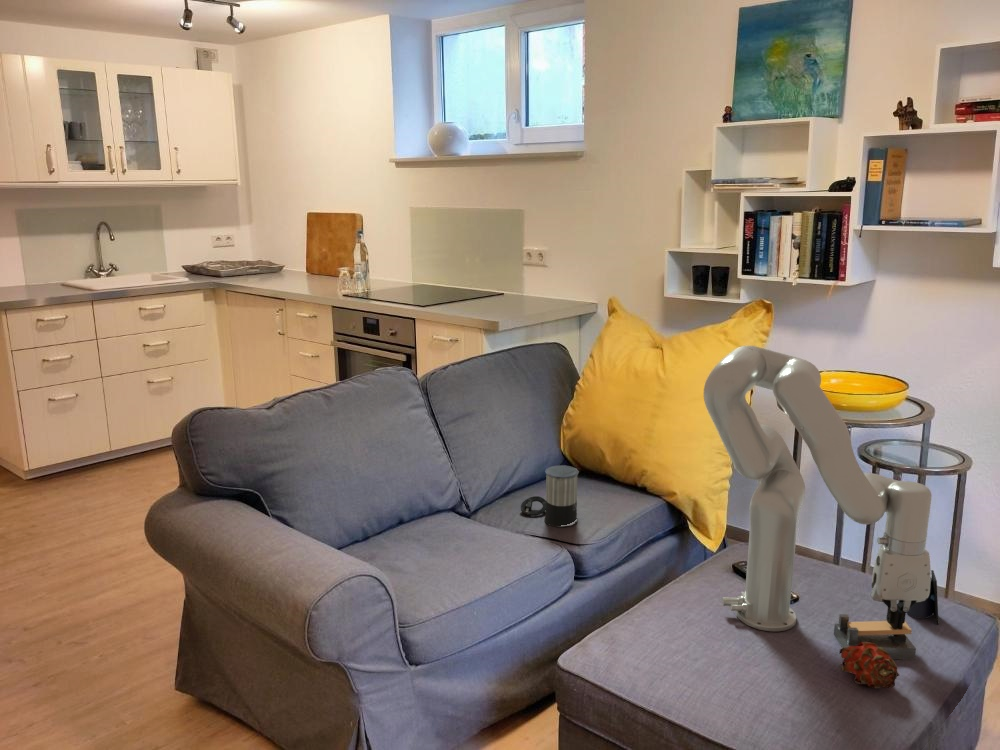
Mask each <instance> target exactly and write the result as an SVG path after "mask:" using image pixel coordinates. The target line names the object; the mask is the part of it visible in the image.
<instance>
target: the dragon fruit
mask: <svg viewBox="0 0 1000 750" xmlns="http://www.w3.org/2000/svg"><path fill="white" fill-rule="evenodd" d="M837 653H838V652H836V654H837ZM838 654H840V657H841V658H842V659H843V660H842V662H841V663H840V669H841V672H842V673H844V672H847V673H849V674H850V673H851V674H854V675H855V677H854V682H855V684H857V685H867V686H868V687H869V688H873V689H882V688H883V687H885V688H888V689H890V688H894V687H896V680H897V677H899V676H900V673H899V672H898V666H897V664H896V662H895V659H892V658H890V656H889V654H888V653H887V652H886V650H885V649H884V648H881V647H877V646H876V645H875V644H873V643H870V642H860V643H859V644H858V645H857V646H849V647H846V648H842V647H841V649H839V653H838Z"/></svg>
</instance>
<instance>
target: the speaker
mask: <svg viewBox="0 0 1000 750" xmlns="http://www.w3.org/2000/svg"><path fill="white" fill-rule="evenodd" d="M938 599H939V598H938V580H937V578H936V575H935V571H934V570H933V569H931V582H930V593H929V597H928V598H927V599H926V600H925V601H921V602H916V603H914V604H913V605H912V606H911V607H910V608H909V610H908V611H907V612H906V613H907V614H906V615H908V616H910V617H912V618H917V619H927V618H930V617H932V616H933V617H934V621H935V625H936V626H939V624H940V623H939V604H938Z"/></svg>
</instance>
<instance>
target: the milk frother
mask: <svg viewBox="0 0 1000 750" xmlns="http://www.w3.org/2000/svg"><path fill="white" fill-rule="evenodd" d="M545 475H546V476H545V477H546V479H545V481H546V482H545V483H546V484H545V488H546V489H545V498H544V497H541V496H537V495H534V496H530V497H528V498H525V500H523V501H522V502H521V503H520V511H521V513H523V514H524V515H526V516H532V517H536V516H537V517H538V516H540V515H542V514H544V513H545V515H544V519H543V520H544V522H545V523H546V524H547V525H549V526H551V525H553V526H552V527H555V526H561V525H567V524H570V523H572V522H574V521H575V520H576V519H578V513H577V511H578V509H577V506H578V503H577V502H578V476H579V470H578V469H577V468H576V467H573V466H570V465H565V464H564V465H552V466H548V467H547V468H546V469H545ZM534 502H538V503H540V504H541V505H542V507H541V508H540V509H538V510H535V511H532V509H533V508H532V507H533V503H534Z"/></svg>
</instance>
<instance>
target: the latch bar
mask: <svg viewBox="0 0 1000 750" xmlns="http://www.w3.org/2000/svg"><path fill="white" fill-rule="evenodd" d="M847 627H848V628H849V627H851V628H857V629H858V635H892V634H905V635H911V634H912V628H911V627H910V626H909V625H908V623H907V622H906V621H905V623H903V627H902V629H893V628H892V626H891V625H890V624H889V623H888V622H887V620H876V621H874V620H871V621H869V620H868V621H849V622H848V624H847Z"/></svg>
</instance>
